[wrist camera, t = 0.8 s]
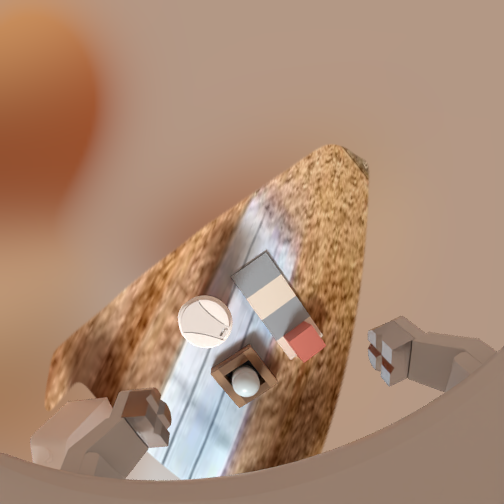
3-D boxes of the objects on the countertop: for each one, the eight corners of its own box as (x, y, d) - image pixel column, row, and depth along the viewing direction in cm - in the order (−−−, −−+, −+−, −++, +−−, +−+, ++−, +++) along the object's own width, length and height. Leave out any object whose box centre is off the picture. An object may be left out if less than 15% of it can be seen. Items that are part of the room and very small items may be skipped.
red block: (317, 340, 51) (326, 345, 46) (296, 355, 50) (304, 362, 45) (303, 320, 51) (311, 325, 46) (283, 336, 50) (289, 342, 45)
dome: (261, 378, 48) (267, 391, 42) (241, 391, 48) (244, 406, 41) (247, 360, 48) (250, 371, 42) (226, 373, 48) (227, 386, 41)
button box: (275, 377, 50) (278, 382, 47) (238, 401, 49) (239, 407, 46) (249, 343, 50) (251, 347, 47) (211, 368, 49) (210, 374, 46)
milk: (89, 441, 44) (42, 500, 18) (68, 401, 44) (5, 450, 19) (128, 439, 45) (89, 511, 19) (107, 397, 46) (48, 458, 20)
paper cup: (237, 301, 51) (242, 310, 37) (219, 337, 50) (218, 359, 36) (199, 283, 50) (190, 285, 36) (182, 319, 49) (167, 334, 35)
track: (322, 334, 52) (323, 335, 51) (290, 359, 51) (290, 360, 50) (265, 252, 52) (266, 252, 51) (230, 276, 51) (230, 276, 50)
